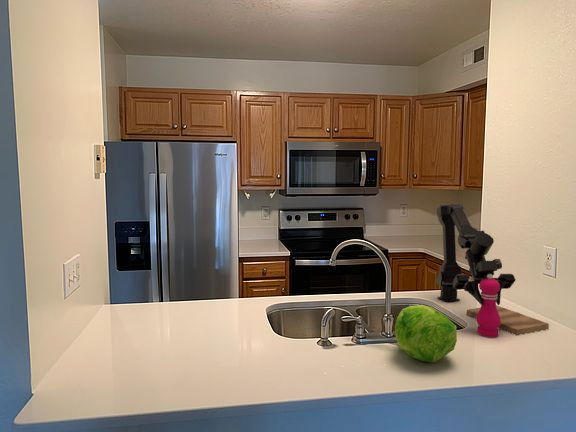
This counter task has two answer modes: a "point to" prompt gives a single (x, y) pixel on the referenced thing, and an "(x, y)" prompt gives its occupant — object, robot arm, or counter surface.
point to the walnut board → (514, 321)
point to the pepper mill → (488, 308)
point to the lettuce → (425, 333)
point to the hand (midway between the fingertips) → (490, 304)
